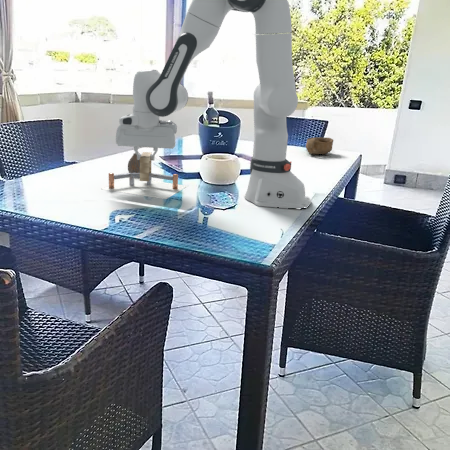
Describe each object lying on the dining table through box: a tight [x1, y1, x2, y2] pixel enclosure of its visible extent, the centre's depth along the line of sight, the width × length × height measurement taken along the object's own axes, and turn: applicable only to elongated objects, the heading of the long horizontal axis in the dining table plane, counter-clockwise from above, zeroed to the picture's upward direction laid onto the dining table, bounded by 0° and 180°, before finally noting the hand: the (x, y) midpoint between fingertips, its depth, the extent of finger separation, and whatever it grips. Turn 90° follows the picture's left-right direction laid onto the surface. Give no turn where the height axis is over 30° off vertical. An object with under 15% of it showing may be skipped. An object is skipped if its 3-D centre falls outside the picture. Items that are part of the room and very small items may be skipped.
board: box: [101, 177, 188, 200], centre depth 170 cm, size 24×19×1 cm
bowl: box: [305, 136, 334, 155], centre depth 250 cm, size 18×14×10 cm
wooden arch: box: [139, 151, 153, 181], centre depth 171 cm, size 3×10×8 cm, turn 3°
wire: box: [108, 172, 179, 189], centre depth 170 cm, size 23×6×5 cm, turn 100°
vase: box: [127, 152, 141, 173], centre depth 186 cm, size 7×7×9 cm
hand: (145, 159), depth 170 cm, fingers closed on wooden arch, 3 cm apart
